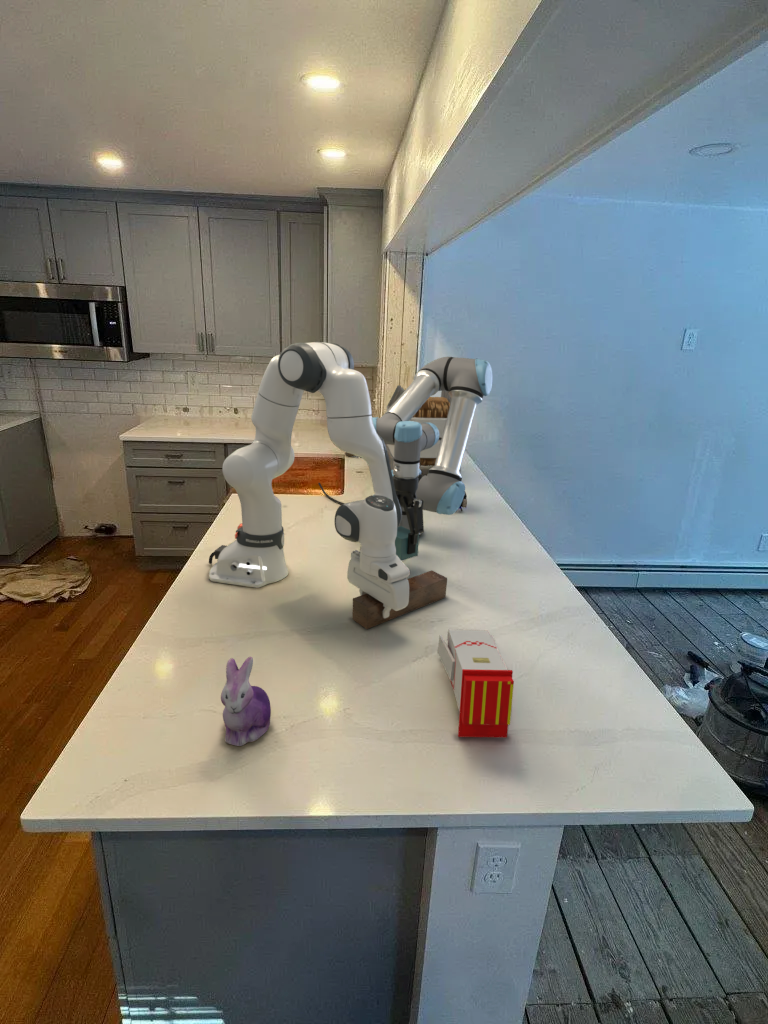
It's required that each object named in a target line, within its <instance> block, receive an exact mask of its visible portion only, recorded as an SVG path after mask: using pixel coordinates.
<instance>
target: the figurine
mask: <svg viewBox="0 0 768 1024" xmlns="http://www.w3.org/2000/svg"><path fill="white" fill-rule="evenodd" d="M253 666H254V657H252V656H249V657H247V658H246V659H245V660H244V661H243V663H242V664H241V666H240V667H238V664H237V662H236V660H235V658H233V657H231V658H229V659H228V660H227V662H226V669H225V674H226V682H225V685H224V686H223V688H222V690H221V694H220V701H221V704H222V705H223V706H224V708H223V710H222V721H223V724H224V727H225V735H224V741H225V743H227V744H229V745H233V746H236V747H237V746H238V747H242V746H244V745H246V744H247V743H252V742H255V741H257V740H258V739H260V738H261V737H262V736H263V735H265V734H266V732H268V730H269V728H270V725H271V716H272V707H271V701H270V698H269V695H268V693H267V692H266V691H265V690H264V689H263V688H262V687H260V686H257V685H251V683H250V676H251V673H252V670H253Z"/></svg>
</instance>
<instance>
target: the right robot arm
mask: <svg viewBox="0 0 768 1024" xmlns="http://www.w3.org/2000/svg"><path fill="white" fill-rule="evenodd" d="M492 387H493V369H492V366H491V363H490V362H489V361H488V360H485V359H478V358H469V357H456V356H443V357H439V358H436V359H434V360H432V361H430V362H429V363H427V364H425V365H424V366H422V367H421V368H420V369H419V370H418V371H417V372H416V373H415V375H414V376H413V381H412V382H411V383H410V384H409V385H408V386H407V388H405V389H404V390H405V391H404V392H403V393H402V395H401V396H400V397H399V398H398V399H397V400H396V401H395V402H394V404H393V405H392V406H391V407H390V408H389V409H388V410H387V409H386V411H385V412H384V414H382V415H381V417H378V416H377V417H373V416H372V420H373V425H374V428H375V430H376V432H377V434H378V435H379V436H381V437H382V439H383V440H384V443H385V444H389V445H394V464H393V470H391V472H392V477H393V482H394V487H395V492H396V495H397V498H398V501H399V504H400V506H401V510H402V519H401V522H400V524H399V526H398V527H400V526H402V527H404V528H407V529H409V530H410V533H408V546H407V554H408V555H409V554H412V553H415V550H416V544H417V540H418V534H419V538H420V537H421V536H422V535H423V533H424V532H425V530H424V511H427V512H430V513H431V512H432V513H436V514H439V515H446V516H447V515H448V516H451V515H453V514H455V513H456V512H457V511H458V510H459V509H460V508H459V507H460V505H461V503H462V501H463V498H464V494H465V492H466V485H465V483H464V482H463V476H462V474H460V473H459V470H460V467H461V468H462V462H463V459H464V455H465V451H466V447H467V444H468V439H469V435H470V431H471V428H472V424H473V419H474V415H475V412H476V408H477V406H478V405H479V404H481V403H482V402H483V400H484V399H483V398H484V397H486V396H490V394H491V392H492ZM442 391H449V396H450V397H451V399H452V400H451V404H450V408H449V412H448V416H447V419H446V423H445V427H444V431H443V435H442V439H441V442H440V446H439V450H438V454H437V458H436V461H435V465H434V466H431V467H430V468H428V471H427V474H422V470H421V468H420V466H419V464H420V452H421V451H423V450H425V449H428V448H431V447H432V446H433V445H435V444H436V443H437V442H438V440H439V430H438V428H437V427H436V426H435V425H434V424H432V423H421V424H420V423H419V422H415V421H410V420H411V418H412V417H413V416H414V415H415V414H416V412H417V411H418V410H419V409H420V408H421V406H422V405H423V404H424V403H425V402H426V400H427V399H428V398H429V397H433V396H435V395H436V394H437V393H438V392H442ZM317 484H318V486H319V488H320V490H321V491H322V493H323V495H325V497H327V499H329V500H330V501H332V502H335V503H337V504H340V505H343V504H345V503H346V502H342V501H339V500H337V499H336V498H333V497H331V496H330V495H329V494H328V493H327V492H326V491H325V489H324V487H323V485H322V484H321V482H318V483H317ZM464 491H465V492H464ZM458 508H459V509H458Z"/></svg>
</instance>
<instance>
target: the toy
mask: <svg viewBox="0 0 768 1024" xmlns="http://www.w3.org/2000/svg"><path fill="white" fill-rule="evenodd" d="M446 640H447V643H446V641H445V639H444V636H443V635H442V634H439V637H438V646H437V656H438V657H439V659H440V661H441V663H442V666H443V668H444V670H445V672H446V674H447V677H448V679H449V681H450V684H451V687H452V690H453V693H454V697H455V701H456V705H457V708H458V711H459V714H458V715H459V716H458V730H457V731H458V732H457V737H458V738H508V731H509V726H510V725H511V717H512V707H513V697H514V696H513V695H514V684H515V680H514V679H513V673H514V671H513V670H512V669H508V667H507V665H506V662H505V661H504V659H503V658H502V655H501V653H500V651H499V649H498V647H497V643H496V639H495V637H494V635H493V634H491V632H490V631H489V629H467V628H466V629H465V628H463V629H461V628H460V629H459V628H448V630H447V639H446Z"/></svg>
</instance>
